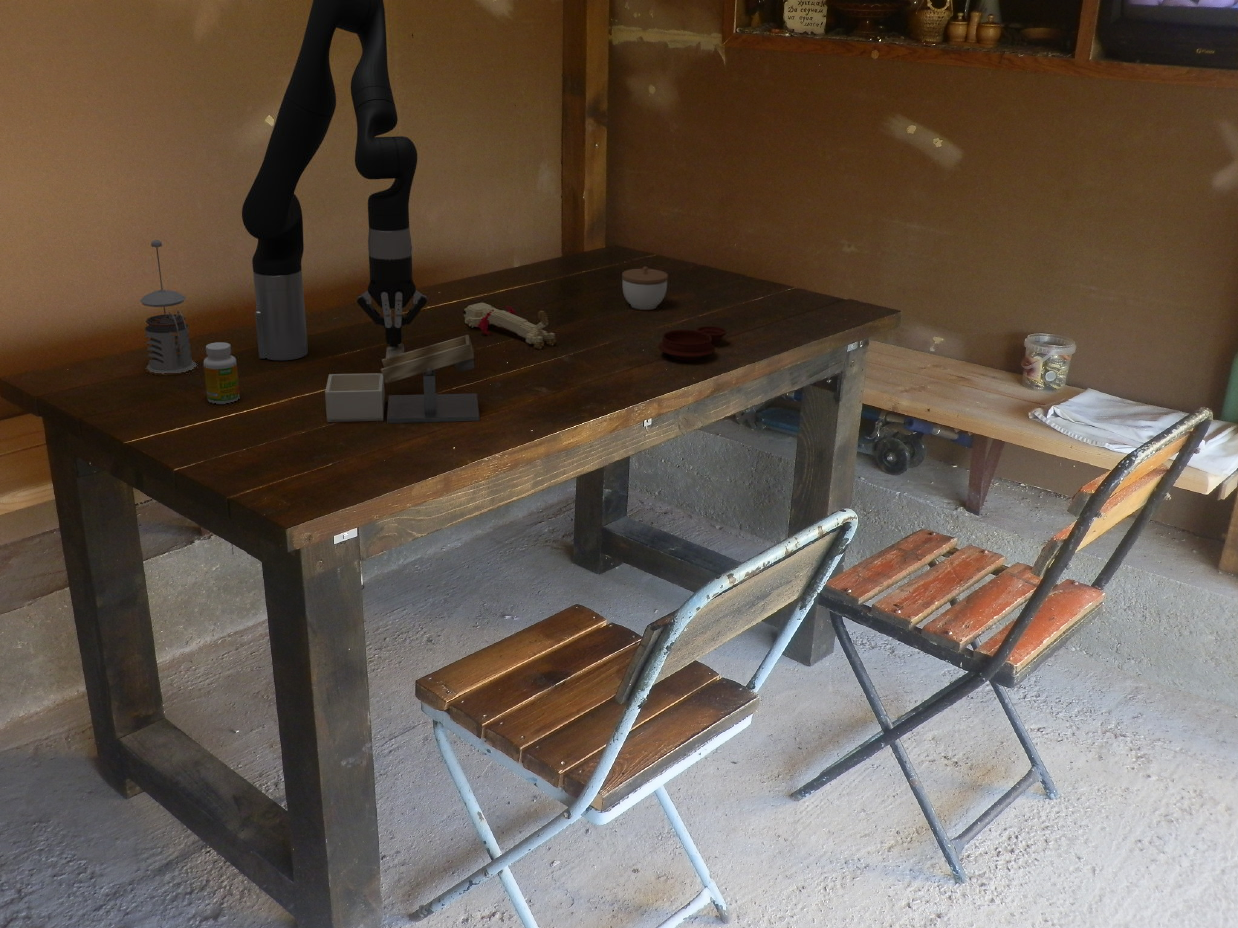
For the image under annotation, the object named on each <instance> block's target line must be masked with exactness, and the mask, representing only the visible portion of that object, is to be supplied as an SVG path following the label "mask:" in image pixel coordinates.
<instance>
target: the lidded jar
mask: <svg viewBox="0 0 1238 928" xmlns="http://www.w3.org/2000/svg"><path fill="white" fill-rule="evenodd" d="M621 279H622V292H623V296H624V298H625V300H626V301H627V303H628V304H630V307H631V308H633V309H636V310H643V311H649V310H654V309H656V308H658V307H657V306H659V305H660V304H661V303H662V301H663V300H664V298H665V297H666V294H667V293H666V292H667V290H668V289H667V287H668V279H669V275H668V273H666V272H665V271H662V270H658V269H653V268H649V267H648V266H643V267H642V268H632V269H627V270H625V271H623V272H622V274H621Z"/></svg>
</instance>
